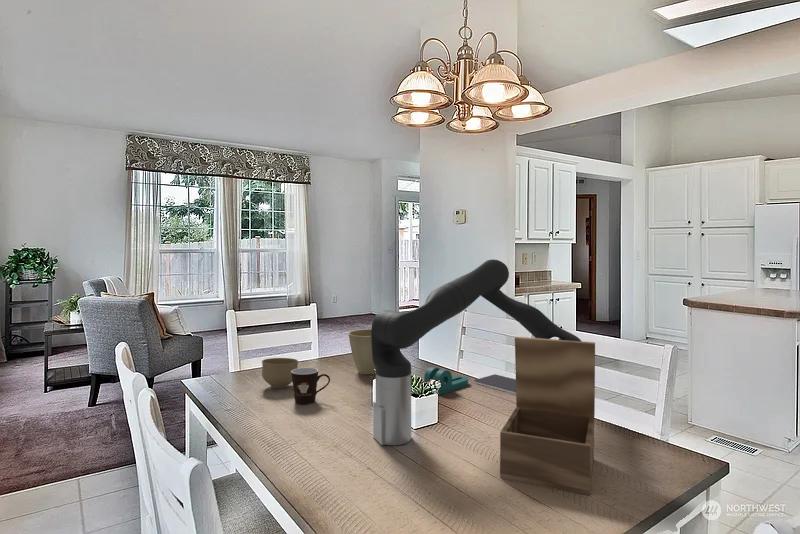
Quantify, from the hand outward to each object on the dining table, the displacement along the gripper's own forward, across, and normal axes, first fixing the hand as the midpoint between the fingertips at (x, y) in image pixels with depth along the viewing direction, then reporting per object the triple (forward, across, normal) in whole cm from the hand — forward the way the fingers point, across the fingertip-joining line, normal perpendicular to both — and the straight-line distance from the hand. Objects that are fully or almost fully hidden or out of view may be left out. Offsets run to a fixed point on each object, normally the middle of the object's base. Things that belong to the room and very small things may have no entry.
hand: (554, 376), depth 115 cm
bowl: (-19, -95, +18) cm, 98 cm away
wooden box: (+9, 0, +19) cm, 21 cm away
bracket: (-42, -40, +19) cm, 61 cm away
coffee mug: (-9, -76, +19) cm, 79 cm away
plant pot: (-49, -75, +18) cm, 92 cm away
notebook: (-52, -21, +19) cm, 59 cm away
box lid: (+1, 0, 0) cm, 1 cm away
